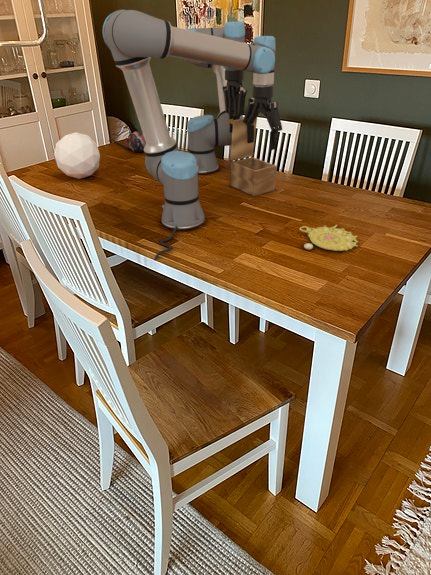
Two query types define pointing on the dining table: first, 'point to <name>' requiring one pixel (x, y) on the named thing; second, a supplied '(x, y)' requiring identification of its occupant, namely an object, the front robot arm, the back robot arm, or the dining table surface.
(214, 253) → the dining table surface
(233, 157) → the lid
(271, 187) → the chest
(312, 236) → the decorative object
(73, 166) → the sphere
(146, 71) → the front robot arm
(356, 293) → the dining table surface
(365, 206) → the dining table surface
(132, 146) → the athletic shoe
